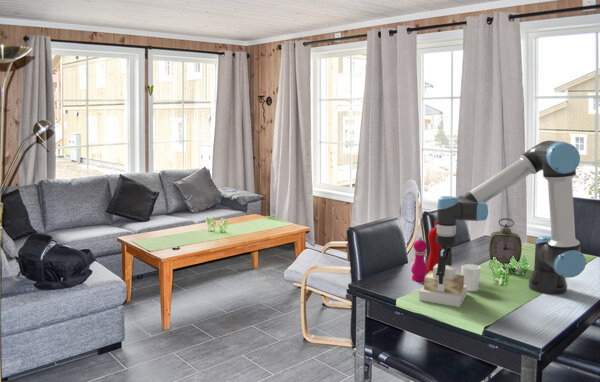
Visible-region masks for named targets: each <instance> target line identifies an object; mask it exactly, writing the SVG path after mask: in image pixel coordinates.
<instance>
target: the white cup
mask: <svg viewBox="0 0 600 382" xmlns="http://www.w3.org/2000/svg"><path fill="white" fill-rule="evenodd" d="M460 270H461V271H460V272H461V274H460V275H464V285H467V292H477V291H479V284H480V277H481V266H479V265H477V264H472V263H469V264H468V263H467V264H462V265H461V269H460Z"/></svg>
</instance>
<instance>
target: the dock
mask: <svg viewBox="0 0 600 382" xmlns="http://www.w3.org/2000/svg"><path fill="white" fill-rule="evenodd" d="M467 292H468V291H467V285H464V287H463V288H462V290H461V291H460V294H453V293H447V292H440V291H433V290H427V289H424V285H423V287H421V288H420V290H419V293H418V294H419V297H418V299H419V300H418V301H420V302H427V303H433V304H440V305H445V306H450V307H451V306H452V307H458V308H460V307H461V305H462V303H463V302H464V300H465V298H466V297H467V294H468V293H467Z"/></svg>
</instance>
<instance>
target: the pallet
mask: <svg viewBox="0 0 600 382" xmlns="http://www.w3.org/2000/svg"><path fill="white" fill-rule="evenodd" d="M423 282H424V283H423V286H424V289H427V290H433V291H437V285H438V278H436V277H433V271H430V272H427V273H426V274H425V277H424V281H423ZM463 287H464V275H461V274H458V273H456V276H455V278H454V279H453V280H451V279H445V290H444V292H447V293H453V294H460V291H461V290H462V288H463ZM440 292H441V291H440Z"/></svg>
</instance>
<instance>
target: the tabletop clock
mask: <svg viewBox="0 0 600 382" xmlns="http://www.w3.org/2000/svg"><path fill="white" fill-rule="evenodd" d="M504 220H505V221H511V223H512V224H511V225H508V224H507V223H504V224H501V221H504ZM498 225H499V226H501V227H502V228H501V229H500V231H493V232H491V233H490V236H489V241H488V253H489V258H490V261H491V260H492V259H493V257H496V259H497V261H499V262H500V263H499V264H501V265H502V264H503V265H504V266H506V265H510V264H509V263H510V259H511V258H512V256H514V258H515V260H516V261H517V262H518V263H520V260H521V257H522V239H521V237H520V235H519V234H518V233H516V232H512V230H511V229H510V227H513V226H514V225H515V222H514V220H513V219H511V218H507V217H504V218H500V219H499V221H498Z"/></svg>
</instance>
